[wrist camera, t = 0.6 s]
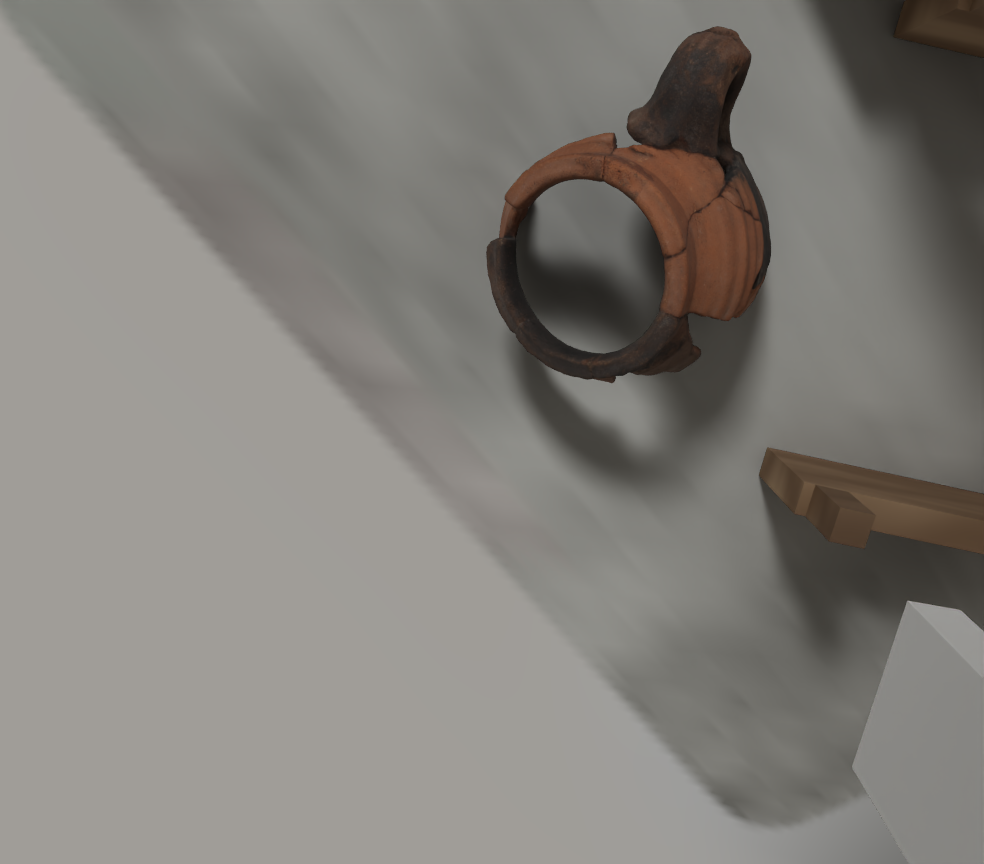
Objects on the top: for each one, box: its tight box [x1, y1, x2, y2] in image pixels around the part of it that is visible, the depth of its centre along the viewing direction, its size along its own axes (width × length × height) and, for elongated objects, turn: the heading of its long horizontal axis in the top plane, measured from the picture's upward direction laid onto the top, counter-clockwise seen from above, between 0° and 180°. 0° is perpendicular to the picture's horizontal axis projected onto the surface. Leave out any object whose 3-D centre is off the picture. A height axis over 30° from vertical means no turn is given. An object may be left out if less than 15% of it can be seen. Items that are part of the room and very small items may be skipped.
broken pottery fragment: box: [486, 26, 771, 383], centre depth 30 cm, size 12×10×8 cm
